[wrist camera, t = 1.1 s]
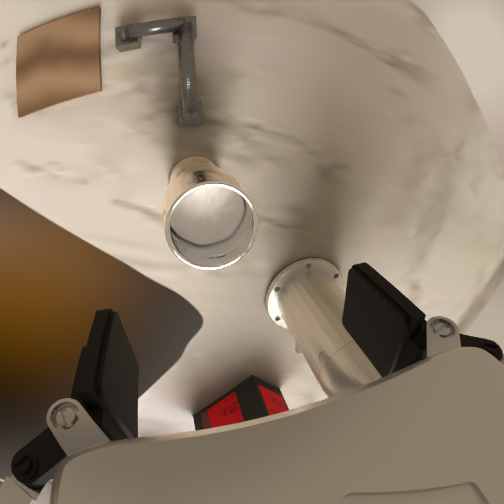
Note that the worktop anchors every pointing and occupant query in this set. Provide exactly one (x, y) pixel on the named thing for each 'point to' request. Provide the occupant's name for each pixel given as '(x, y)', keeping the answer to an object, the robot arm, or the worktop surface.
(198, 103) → the grey metal bent rod
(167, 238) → the beer glass
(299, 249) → the worktop surface
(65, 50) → the walnut board
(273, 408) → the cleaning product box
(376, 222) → the worktop surface
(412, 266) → the worktop surface
